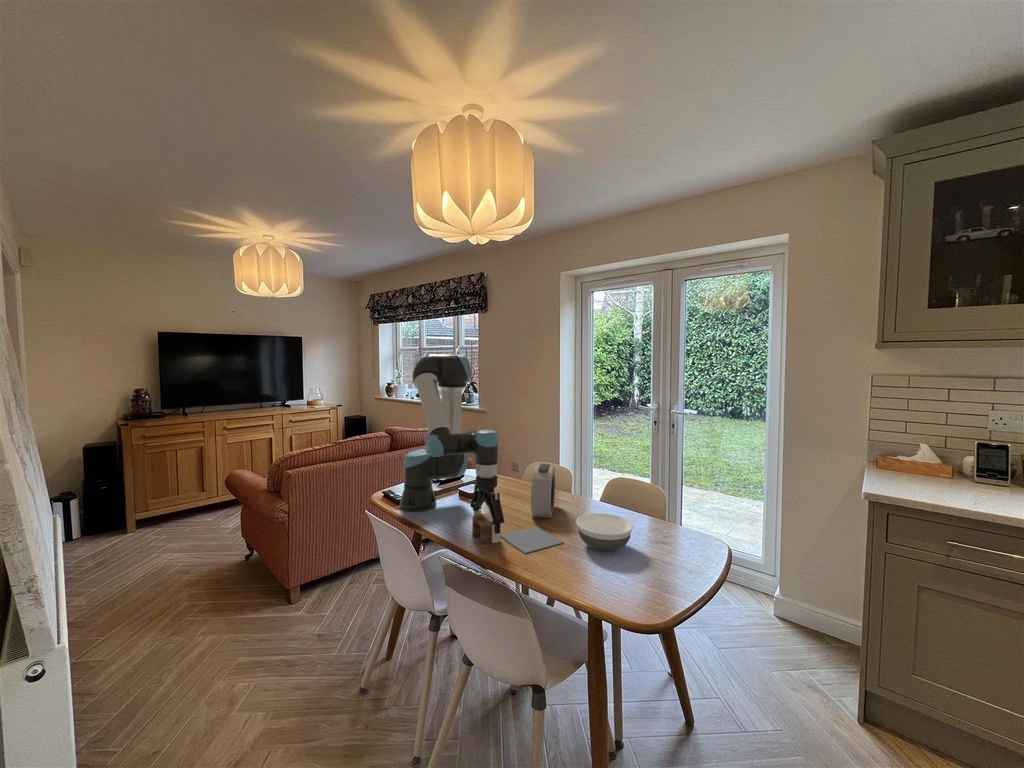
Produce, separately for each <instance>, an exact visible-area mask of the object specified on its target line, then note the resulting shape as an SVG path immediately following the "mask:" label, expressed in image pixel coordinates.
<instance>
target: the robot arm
mask: <svg viewBox="0 0 1024 768" xmlns="http://www.w3.org/2000/svg"><path fill="white" fill-rule="evenodd" d="M471 377H472V368H471V364H470V361H469V359H468V357H466V356H465V354H456V353H455V354H451V353H450V354H449V353H446V354H440V353H439V354H436V353H433V354H430V353H429V354H427V355H425V356H423V357H422V358H421V359H419V360H418V361H417V363H416V364H415V366H414V368H413V371H412V383H413V386H414V388H415V389H417V391H418V395H419V399H420V404H421V407H422V411H423V415H424V420H425V423H426V427H427V431H428V435H427V436H426V437H425V439H424V446H425V448H420V449H415V450H412V451H409V452H408V453H407V454H405V456H404V458H403V486H404V487H403V491H402V494H401V496H400V500H399V507H400V509H401V510H404V511H407V512H423V511H428V510H431V509H433V508H435V507H436V506H437V498H436V494H435V492H434V489H433V481H434V480H442V479H443V480H445V479H455V478H457V477H462V476H463V475H464V474H465V473H466V471H467V469H468V463H469V462H468V454H475V474H476V476H475V484H474V490H473V494H472V497H471V501H470V507H471V508H472V512H473V516H475V515H480V514H482V506H483V504H484V503H485V505H486V506H487V507H488V509H489V512H490V513H491V516H492V519H493V523H492V542H491V543H492V544H495V543H499V542H501V537H500V535H501V524H504V523H505V517H504V512H503V509H502V508H503V507H502V504H501V499H500V492H495V488H496V487H497V486H498V471H499V470H498V468H499V467H498V466H499V465H498V464H499V462H498V457H499V455H498V453H499V452H498V448H499V446H498V445H499V439H498V438H499V437H498V432H497V431H496V430H491V429H481V430H480V429H479V430H469V431H467V432H463V433H462V432H461V430H462V429H461V427H462V426H461V424H462V401H463V400H462V399H463V398H462V397H463V390H464V389H465V388H466V387H467V386H466V385H467V383H469V382H470V381H471ZM437 384H438V385H437ZM438 387H439V389H441V395H440V392H439V389H438Z"/></svg>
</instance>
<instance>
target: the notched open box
mask: <svg viewBox="0 0 1024 768" xmlns="http://www.w3.org/2000/svg"><path fill="white" fill-rule="evenodd" d="M471 520H472V523H471V524H472V525H471V526H472V528H471V529H472V530H471V531H472V532H471V534H472V535H471V537H472V538H473V537H474V539H477V538H479V539H480V544H481V545H486V543H487V544H491V543H492V523H493V519H492V516H491V513H490V511H489V512H486V513H485V512H484V513H481V514H480V515H475V516H474V515H472V519H471Z"/></svg>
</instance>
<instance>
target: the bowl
mask: <svg viewBox="0 0 1024 768" xmlns="http://www.w3.org/2000/svg"><path fill="white" fill-rule="evenodd" d="M575 523H576V525H577V529H578V535H579V537H580V539H581V540H582V542H584V543H585V544H586V545H587V546H589V547H591V548H592V550H595V551H596V552H599V553H613V552H616V550H619V549H622V548H623V547H624V546H626V545H627V544H628V542H629V540H630V539H631V534H632V531H633V529H634V526H633V523H632V522H631V521H630V520H628V519H627V518H624V517H622V516H620V515H616V514H611V513H602V512H601V513H598V512H597V513H595V512H594V513H586V514H584V515H581V516H579V517H578V518H577V519H576V521H575Z"/></svg>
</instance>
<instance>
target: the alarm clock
mask: <svg viewBox="0 0 1024 768" xmlns="http://www.w3.org/2000/svg"><path fill="white" fill-rule="evenodd" d="M530 492H531V493H530V511H531V516H532V518H543V519H551V518H552V516H553V512H554V508H555V503H556V502H555V501H556V469H555V466H551V465H550V464H549V463H540V464H539V465H535V467H534V468H533V472H532V479H531V491H530Z"/></svg>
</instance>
